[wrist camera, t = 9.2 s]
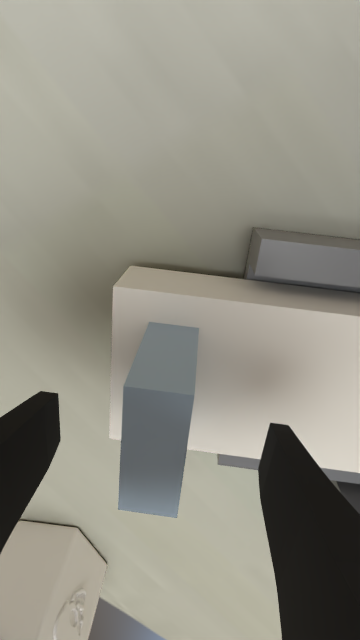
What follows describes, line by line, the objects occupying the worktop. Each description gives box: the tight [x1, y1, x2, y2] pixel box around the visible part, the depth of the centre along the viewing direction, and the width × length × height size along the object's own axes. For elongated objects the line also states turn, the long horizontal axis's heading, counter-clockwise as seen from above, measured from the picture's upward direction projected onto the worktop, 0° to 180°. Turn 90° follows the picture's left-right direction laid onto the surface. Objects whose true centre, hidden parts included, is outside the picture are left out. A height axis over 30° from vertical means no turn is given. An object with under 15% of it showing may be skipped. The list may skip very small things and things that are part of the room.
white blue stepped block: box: [109, 266, 360, 518], centre depth 14 cm, size 12×8×8 cm, turn 84°
